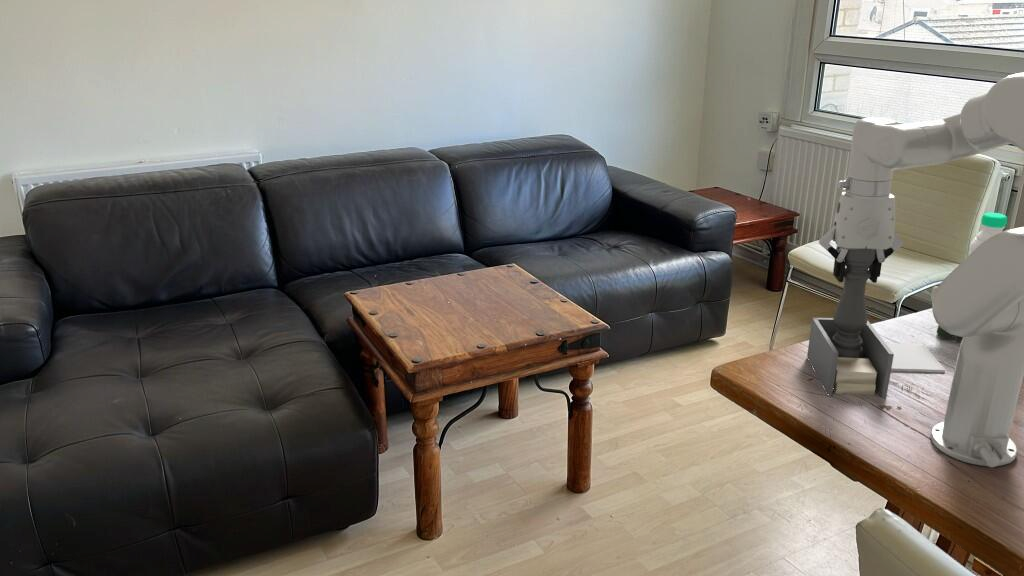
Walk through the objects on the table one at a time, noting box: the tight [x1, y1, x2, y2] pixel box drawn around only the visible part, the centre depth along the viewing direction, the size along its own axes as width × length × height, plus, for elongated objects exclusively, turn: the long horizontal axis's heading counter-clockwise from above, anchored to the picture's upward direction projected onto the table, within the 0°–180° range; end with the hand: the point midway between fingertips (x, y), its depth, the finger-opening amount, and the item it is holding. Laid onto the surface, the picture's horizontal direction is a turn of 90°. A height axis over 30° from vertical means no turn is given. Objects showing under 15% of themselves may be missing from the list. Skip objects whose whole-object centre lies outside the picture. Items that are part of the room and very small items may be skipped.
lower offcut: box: [833, 380, 876, 395], centre depth 156 cm, size 6×7×2 cm
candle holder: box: [832, 246, 876, 358], centre depth 157 cm, size 6×6×25 cm
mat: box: [885, 342, 946, 374], centre depth 166 cm, size 12×12×1 cm
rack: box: [806, 317, 894, 398], centre depth 158 cm, size 16×11×9 cm, turn 175°
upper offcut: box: [835, 357, 877, 385], centre depth 155 cm, size 6×7×2 cm
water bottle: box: [968, 212, 1008, 256], centre depth 179 cm, size 7×7×25 cm
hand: (855, 279), depth 155 cm, fingers closed on candle holder, 5 cm apart
